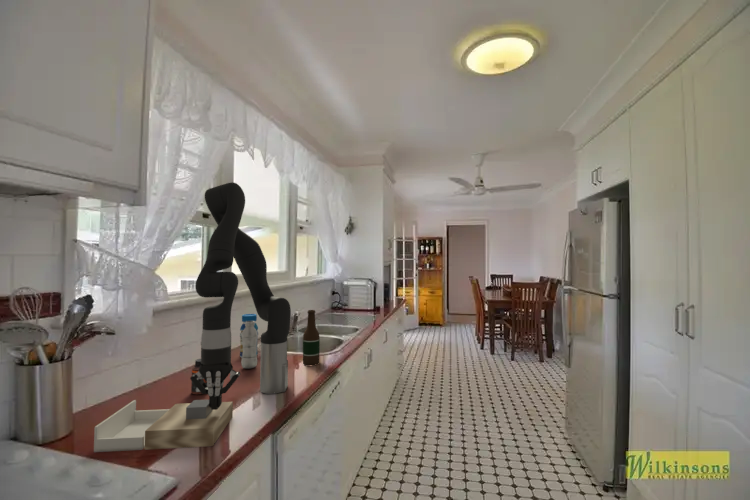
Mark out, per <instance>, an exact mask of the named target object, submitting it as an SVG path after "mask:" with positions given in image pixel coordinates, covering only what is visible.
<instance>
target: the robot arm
mask: <svg viewBox="0 0 750 500" xmlns="http://www.w3.org/2000/svg"><path fill="white" fill-rule="evenodd" d="M204 201H205V203H206V206H207V208H208V210H209V212H210V215H212V218H213V219H214V221H215V223H216V224H217V226H216V228H215V229H214V230H213V232H212V234H211V236H210V239H209V241H208V246H207V254H206V255H207V256H206V260H205V262H204V265H203V266H202V268H201V270H200V272H199V274H198V276H197V278H196V281H195V291H196V294H197V295H198V296H200V297H201V298H223V300H222V302H220V303H218V304H215V305H210V306H207V307H205V308H204V309H203V311H202V328H201V329H202V332H201V337H200V338H201V339H200V359H201V366H200V368H199V371H198V372H197V373H195V374H194V375H192V374H191V376H190V378H189V380H190V381H191V383H192V382H193V383H194V384H195V386H196V387H197V388H198V389H199V390H200V392H201V393H202V394H201V395H208V397H209V399H208V400H209V407H210V408H211V410H217V409H218V408H219V407H220V406H221V404H222V402H223V398H222V397H223V394H226V393H227V392H228V390H229V389H231V387H232V386H233V385H234V383H236V381H237V379H238V378H239V377H240V375H241V372H240V371H236V370H235V369H233V368H234V367H233V364H232V330H231V329H232V328H231V321H232V320H231V317H232V307H233V302H234V299H235V295H236V293H237V290H238V286H239V279H238V276H237V275H236V273H235V272H233V271H224V270H227V269H229V268H231V267H232V266H233V263H234V262H235V264H236V265H237V267H238V269H239V272H240V274H241V275H242V277H243V280H244V282H245V284H246V287H247V288H248V291H249V292H250V293H249V294H250V296H251V298H252V301H253V305H254V307H255V311H256V314H257V315H258V316H259V318H260V319H262V320H263V322H267V326H266V327H267V328H266V329H267V330H266V331H264V332H262V334H261V335H260V360H259V361H260V367H259V368H260V371H259V372H260V373H259V374H260V375H259V379H260V380H259V391H260V392H261V393H262V394H267V395H272V394H275V395H276V394H279V393H285V392H286V391H287V388H288V386H289V385H288V382H289V378H288V377H289V360H288V337H289V334H290V331H291V330H290V329H291V314H292V311H291V304H290V302H289V300H288V299H286V298H284V297H282V296H281V297H280V296H274V294H273V292H272V291H271V288H270V286H269V284H268V279H267V267H268V266H267V260H266V257H265V255H264V253H263V251H262V248H261V246H260V245H259V243H258V242H257V241H256V240H255V239H254V238H253V237H252V236H250V235H249V234H247V233H246V232H244V231H243V230H242V229H241V228H240V223H241V220H242V217H243V213H244V210H245V208H246V207H245V206H246V195H245V192H244V189H243V188H242V187H241V186H240V185H239V184H238V183H237V182H233V181H231V182H227V183H224V184H219V185H217V186H213V187H211V188H208V189H206V191H205V192H204ZM202 376H203V378H204V379H205V380H206V381H207V384H206V383H205V382H204V380H203V379H202ZM228 376H229V381H228V382H227V383H226V385H225V386H224V382H225V380H226V379H227V377H228Z"/></svg>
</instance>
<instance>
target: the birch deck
mask: <svg viewBox="0 0 750 500" xmlns="http://www.w3.org/2000/svg"><path fill="white" fill-rule="evenodd" d="M191 403H192V402H190V403H187V402H185V403H175V404H174V405H173V406H171V407H170V408H168V409H169V410H168V411H167V412H166V413H165V414H164V415H163V416H161V417H160V418H159V419H158V420H157V421H156V422H155V423H154V424H152V425H151V426H150V427H149V428H148V429H147V430H146V431H145V448H144V450H163V449H165V450H166V449H179V448H180V449H182V448H184V447H186V448H202V447H203V448H204V447H214V445H215V444H214V443H216V442H217V441H218V439H219V438H220V437H221V434H222V433H223V431H225V429H226V427H227V426H228V424H229V423H230V421H231V420H232V419H233V411H234V410H233V406H234V402H233V401H222V404H221V406H220V407H219V408H218V409H217V410H212V412H211V413H210V414H209V415H208V416H207V418H204V419H186V407H188V406H189V405H190V404H191ZM184 449H185V448H184Z"/></svg>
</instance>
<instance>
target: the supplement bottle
mask: <svg viewBox="0 0 750 500" xmlns="http://www.w3.org/2000/svg"><path fill="white" fill-rule="evenodd" d="M194 363H195V364H194V365H193V366H192V369H191V376H192V375H194V374H195V373H197V372H198V371H199V368H200V366H201V358H198V359H195V361H194ZM202 379H203V380H204V382H205V383H206V384H207V381H206V380H205V379H204V378H203V376H202ZM190 388H191V389H190V391H191V392H190V393H191V394H193V395H197V396H198V395H199V396H200V395H203V394H202V393H201V392H200V390H199V389H198V388H197V387H196V386H195V384H194V383H193V382H192V381H191V387H190Z"/></svg>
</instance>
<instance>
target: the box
mask: <svg viewBox="0 0 750 500" xmlns="http://www.w3.org/2000/svg"><path fill="white" fill-rule="evenodd" d="M169 409H170V408H166V409H146V410H143V409H140V410H137V399H133V400H132V401H131V402H129V403H127V404H126V405H124V406H123V407H122V408H120V409H119V410H117V411H115V413H112V414H111V415H110V416H109V417H107V418H106V419H104V420H102V421H101V422H100V423H98V424H97V425H95V426H94V435H93V437H94V438H93V440H94V441H93V453H104V452H106V453H108V452H121V451H124V452H125V451H142V450H145V431H146V430H147V429H148V428H149V427H150V426H151V425H152V424H154V423H155V422H156V421H157V420H158V419H159V418H160V417H161V416H163V415H164V414H165V413H166V412H167V411H168V410H169Z"/></svg>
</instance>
